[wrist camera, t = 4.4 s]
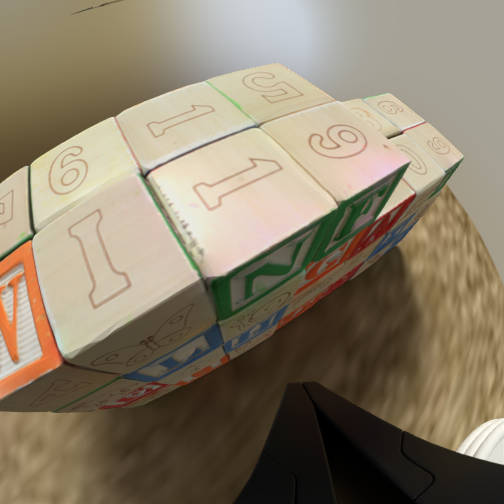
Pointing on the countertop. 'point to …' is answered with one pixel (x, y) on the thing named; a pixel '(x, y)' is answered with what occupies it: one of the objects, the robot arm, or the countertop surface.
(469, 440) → the white ridged disc
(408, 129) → the stack of blocks
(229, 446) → the countertop surface
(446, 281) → the countertop surface
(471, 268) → the countertop surface
